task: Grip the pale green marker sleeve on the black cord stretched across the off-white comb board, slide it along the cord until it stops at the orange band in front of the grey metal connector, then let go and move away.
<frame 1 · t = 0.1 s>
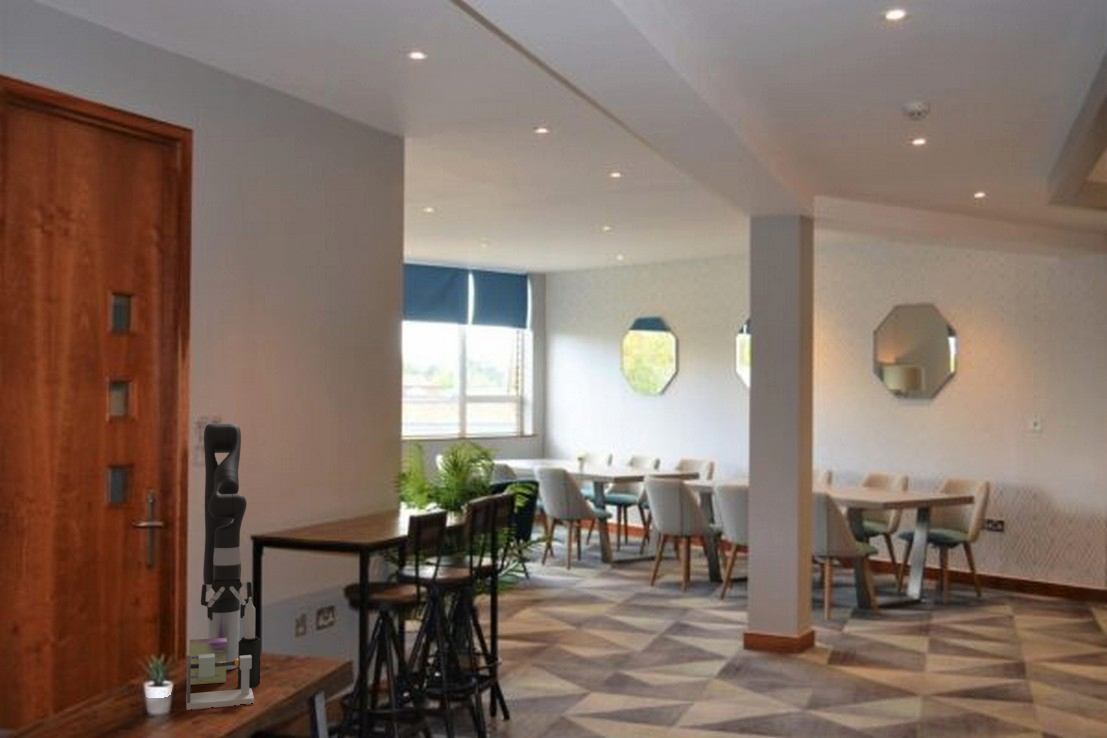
hand: (226, 618, 305), 17 cm above the table, tool pointing down, fingers open, 8 cm apart
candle: (249, 686, 298), on the table
cord rack: (219, 701, 282), on the table
box: (207, 682, 302), on the table
sleeve: (206, 665, 281), point 10 cm above the table, slide at 0.0 cm
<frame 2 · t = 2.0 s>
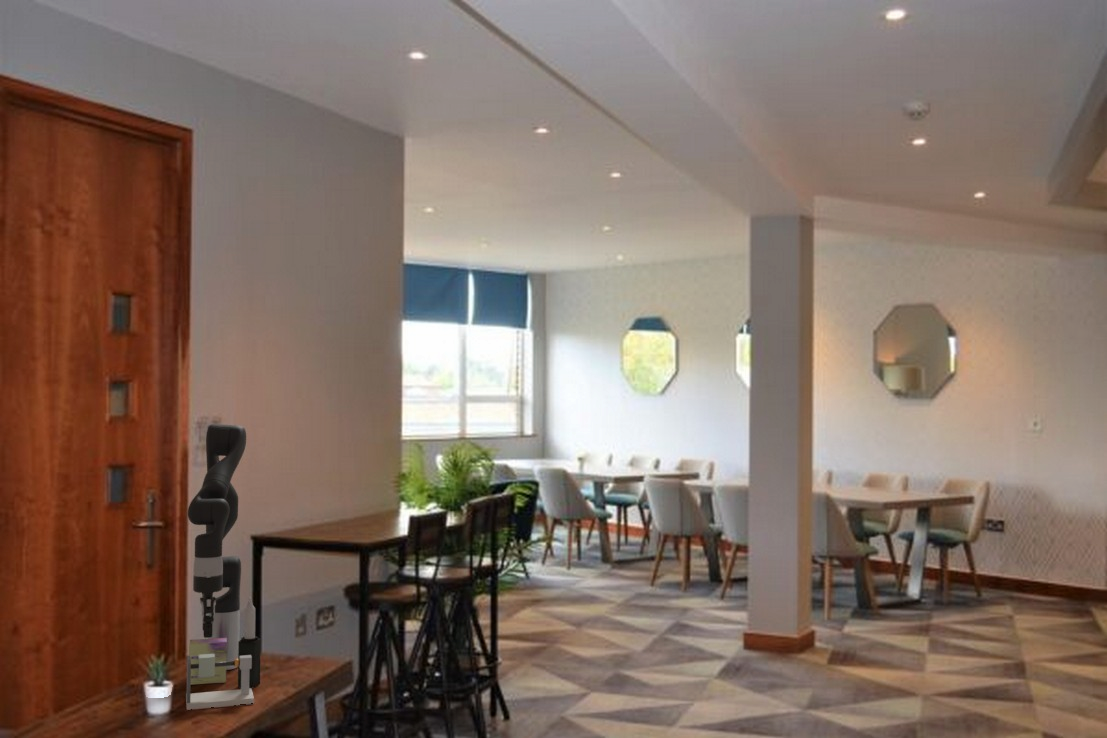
hand: (207, 633, 281), 18 cm above the table, tool pointing down, fingers open, 8 cm apart
nothing on the table moved.
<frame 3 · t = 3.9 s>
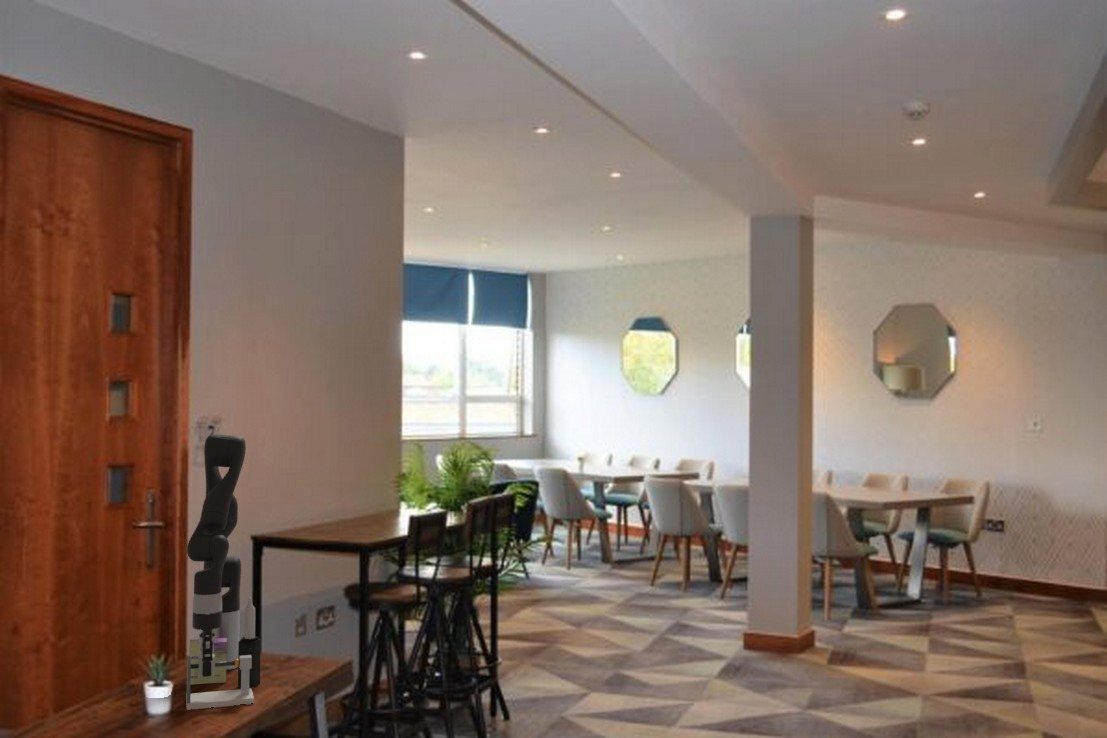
hand: (206, 673, 281), 8 cm above the table, tool pointing down, fingers closed on sleeve, 4 cm apart
sleeve: (206, 665, 281), point 10 cm above the table, slide at 0.0 cm, touching gripper
everything else where it was.
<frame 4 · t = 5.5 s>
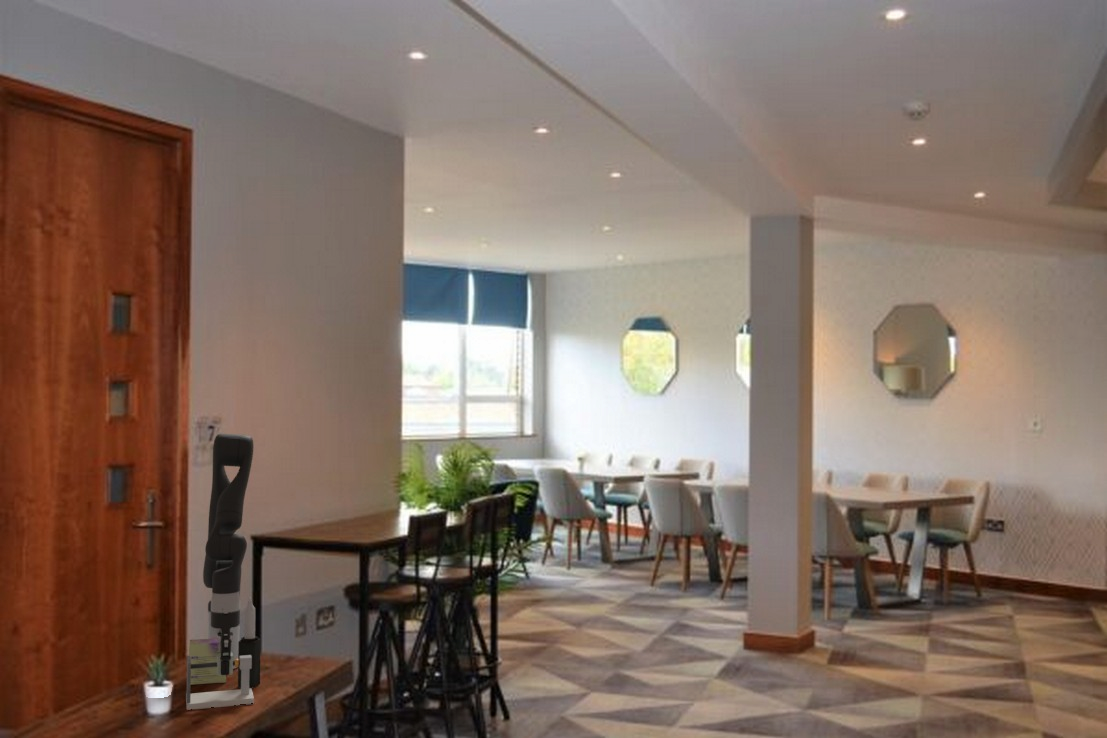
hand: (224, 672, 282), 8 cm above the table, tool pointing down, fingers closed on sleeve, 4 cm apart
sleeve: (224, 663, 282), point 10 cm above the table, slide at 4.6 cm, touching gripper
everything else where it was.
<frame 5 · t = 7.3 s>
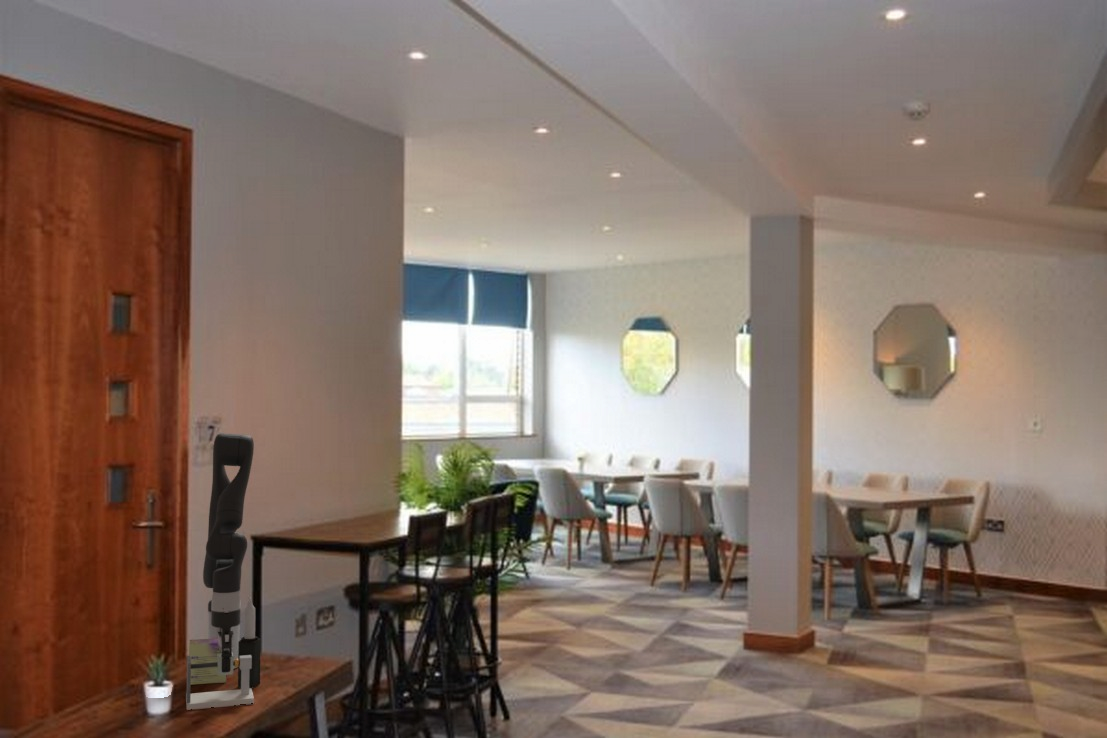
hand: (225, 668, 282), 9 cm above the table, tool pointing down, fingers open, 8 cm apart
sleeve: (225, 663, 282), point 10 cm above the table, slide at 4.7 cm
everything else where it was.
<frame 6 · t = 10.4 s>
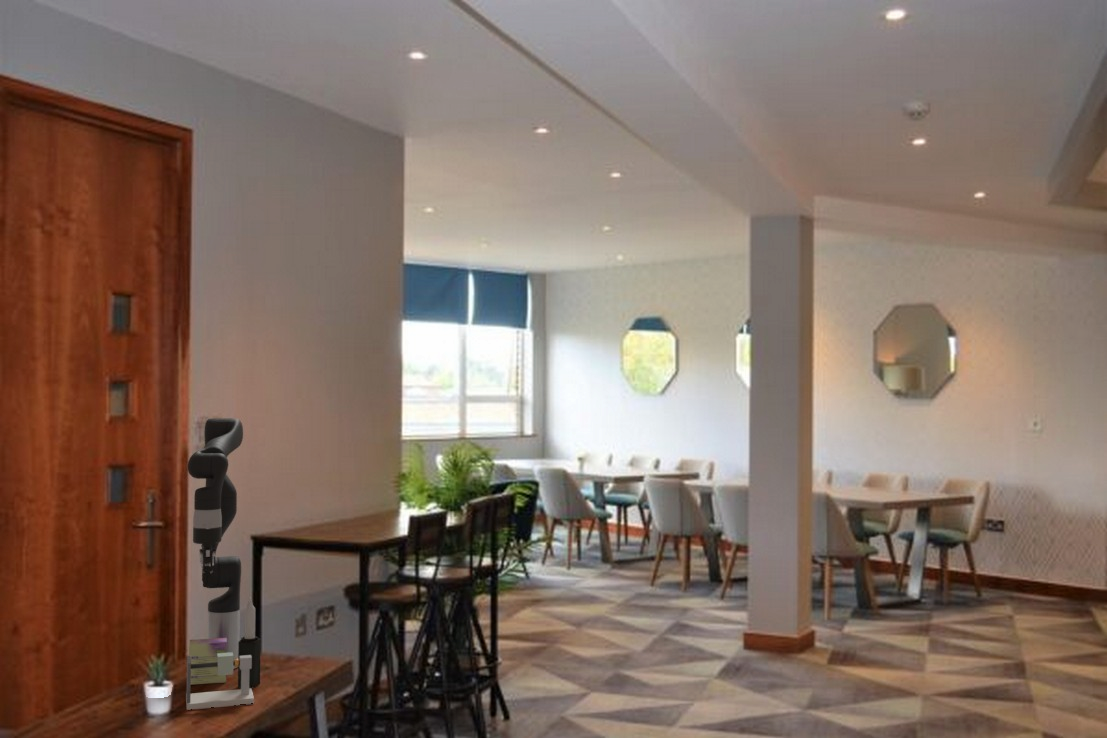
hand: (206, 584, 290), 30 cm above the table, tool pointing down, fingers open, 8 cm apart
nothing on the table moved.
at the end: sleeve slide at 4.7 cm; the gripper is holding nothing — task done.
